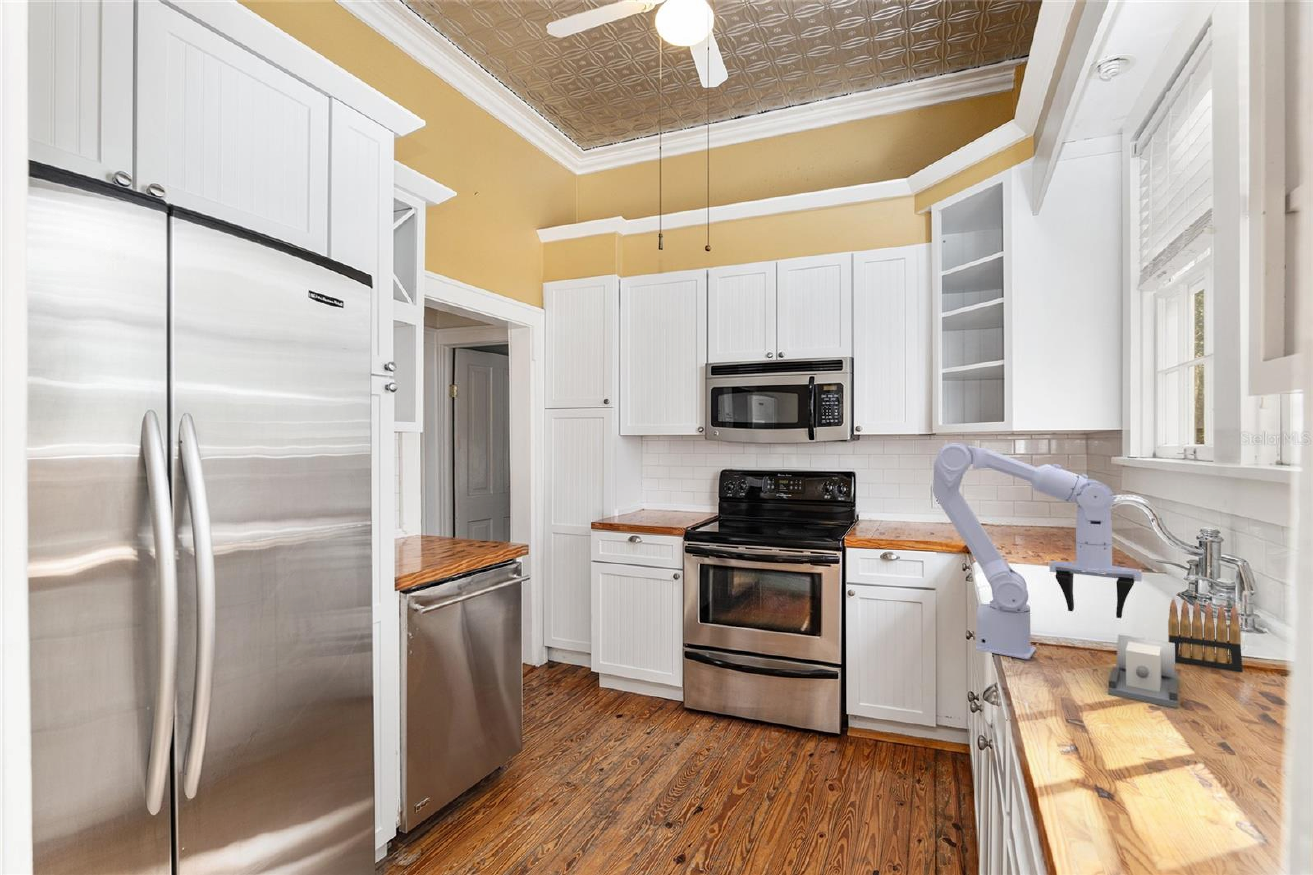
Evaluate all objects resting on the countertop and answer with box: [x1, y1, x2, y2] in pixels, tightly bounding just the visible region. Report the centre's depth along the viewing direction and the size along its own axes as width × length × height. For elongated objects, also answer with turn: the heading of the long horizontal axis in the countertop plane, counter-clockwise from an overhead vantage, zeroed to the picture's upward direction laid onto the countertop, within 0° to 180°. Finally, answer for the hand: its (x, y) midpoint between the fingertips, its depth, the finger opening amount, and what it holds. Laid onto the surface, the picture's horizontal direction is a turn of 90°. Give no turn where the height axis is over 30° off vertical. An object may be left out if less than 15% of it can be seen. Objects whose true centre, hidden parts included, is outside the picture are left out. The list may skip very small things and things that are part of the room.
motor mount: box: [1107, 634, 1180, 709], centre depth 110 cm, size 9×16×7 cm, turn 140°
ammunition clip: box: [1167, 598, 1244, 673], centre depth 121 cm, size 11×2×12 cm, turn 55°
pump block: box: [1126, 642, 1161, 692], centre depth 109 cm, size 4×7×6 cm, turn 140°
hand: (1094, 613), depth 123 cm, fingers open, 7 cm apart
